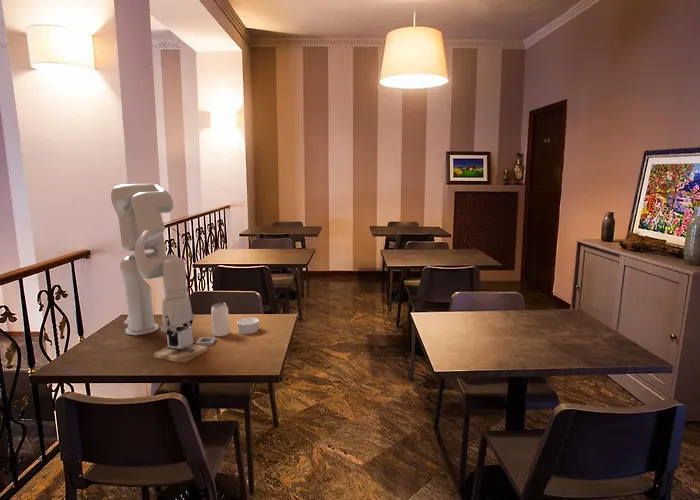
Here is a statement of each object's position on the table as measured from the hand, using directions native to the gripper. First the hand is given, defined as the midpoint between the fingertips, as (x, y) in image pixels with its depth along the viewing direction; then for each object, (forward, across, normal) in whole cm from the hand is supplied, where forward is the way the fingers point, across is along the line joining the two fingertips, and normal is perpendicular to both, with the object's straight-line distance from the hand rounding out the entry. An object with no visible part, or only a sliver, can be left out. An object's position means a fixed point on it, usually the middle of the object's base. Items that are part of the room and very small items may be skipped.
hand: (180, 342), depth 169 cm
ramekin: (+5, -29, +8) cm, 30 cm away
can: (+5, -22, 0) cm, 22 cm away
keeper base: (+4, 0, 0) cm, 4 cm away
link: (+1, 0, 0) cm, 1 cm away
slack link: (+4, -12, +1) cm, 13 cm away
